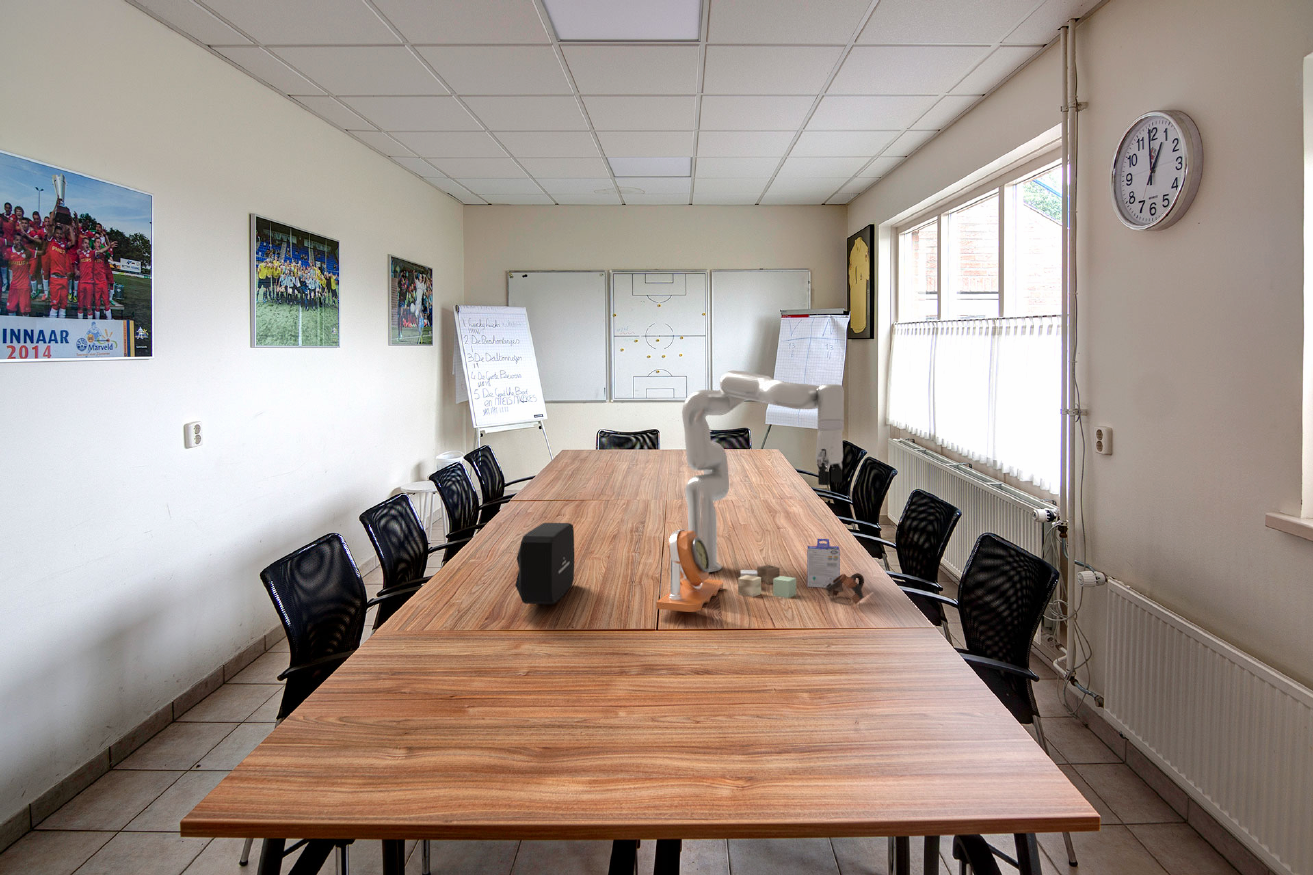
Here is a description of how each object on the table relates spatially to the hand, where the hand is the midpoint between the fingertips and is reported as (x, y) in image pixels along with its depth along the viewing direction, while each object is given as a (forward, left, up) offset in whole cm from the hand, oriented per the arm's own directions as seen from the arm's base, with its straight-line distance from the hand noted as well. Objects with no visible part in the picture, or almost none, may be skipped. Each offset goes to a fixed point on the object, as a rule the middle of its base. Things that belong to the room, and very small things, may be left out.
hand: (830, 483), depth 210 cm
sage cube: (-10, -10, -33) cm, 36 cm away
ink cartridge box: (-5, +7, -33) cm, 34 cm away
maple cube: (-19, -15, -33) cm, 41 cm away
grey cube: (-23, -8, -33) cm, 41 cm away
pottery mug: (+10, -3, -33) cm, 35 cm away
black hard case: (-69, -51, -33) cm, 91 cm away
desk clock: (-30, -29, -33) cm, 53 cm away
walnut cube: (-21, +1, -33) cm, 39 cm away
